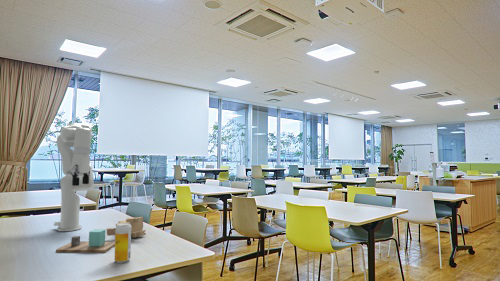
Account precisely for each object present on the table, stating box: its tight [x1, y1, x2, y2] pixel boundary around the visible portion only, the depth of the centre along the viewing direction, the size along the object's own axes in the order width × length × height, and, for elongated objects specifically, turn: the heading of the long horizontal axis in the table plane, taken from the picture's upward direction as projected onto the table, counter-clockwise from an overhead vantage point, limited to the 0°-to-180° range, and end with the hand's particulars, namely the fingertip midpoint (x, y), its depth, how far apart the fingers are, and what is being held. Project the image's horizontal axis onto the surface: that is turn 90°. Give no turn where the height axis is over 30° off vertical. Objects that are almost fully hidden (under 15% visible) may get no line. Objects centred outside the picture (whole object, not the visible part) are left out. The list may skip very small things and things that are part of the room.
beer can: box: [114, 223, 132, 264], centre depth 129 cm, size 6×6×15 cm
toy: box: [105, 216, 146, 239], centre depth 169 cm, size 10×20×20 cm
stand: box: [55, 235, 115, 254], centre depth 147 cm, size 22×14×5 cm, turn 91°
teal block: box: [88, 228, 107, 246], centre depth 147 cm, size 5×5×7 cm
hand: (80, 184), depth 162 cm, fingers open, 9 cm apart
